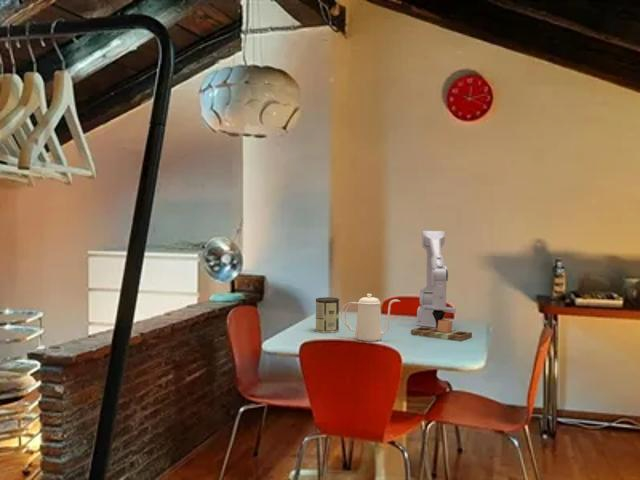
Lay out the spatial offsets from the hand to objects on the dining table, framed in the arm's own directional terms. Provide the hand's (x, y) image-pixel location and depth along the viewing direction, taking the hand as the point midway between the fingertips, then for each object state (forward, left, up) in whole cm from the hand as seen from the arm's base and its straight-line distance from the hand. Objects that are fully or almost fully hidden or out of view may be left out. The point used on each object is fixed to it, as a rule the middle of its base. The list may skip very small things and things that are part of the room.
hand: (438, 328), depth 299 cm
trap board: (+1, 0, -3) cm, 3 cm away
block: (+3, 0, -1) cm, 3 cm away
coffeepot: (-19, -25, -3) cm, 31 cm away
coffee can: (-44, -20, -3) cm, 48 cm away
